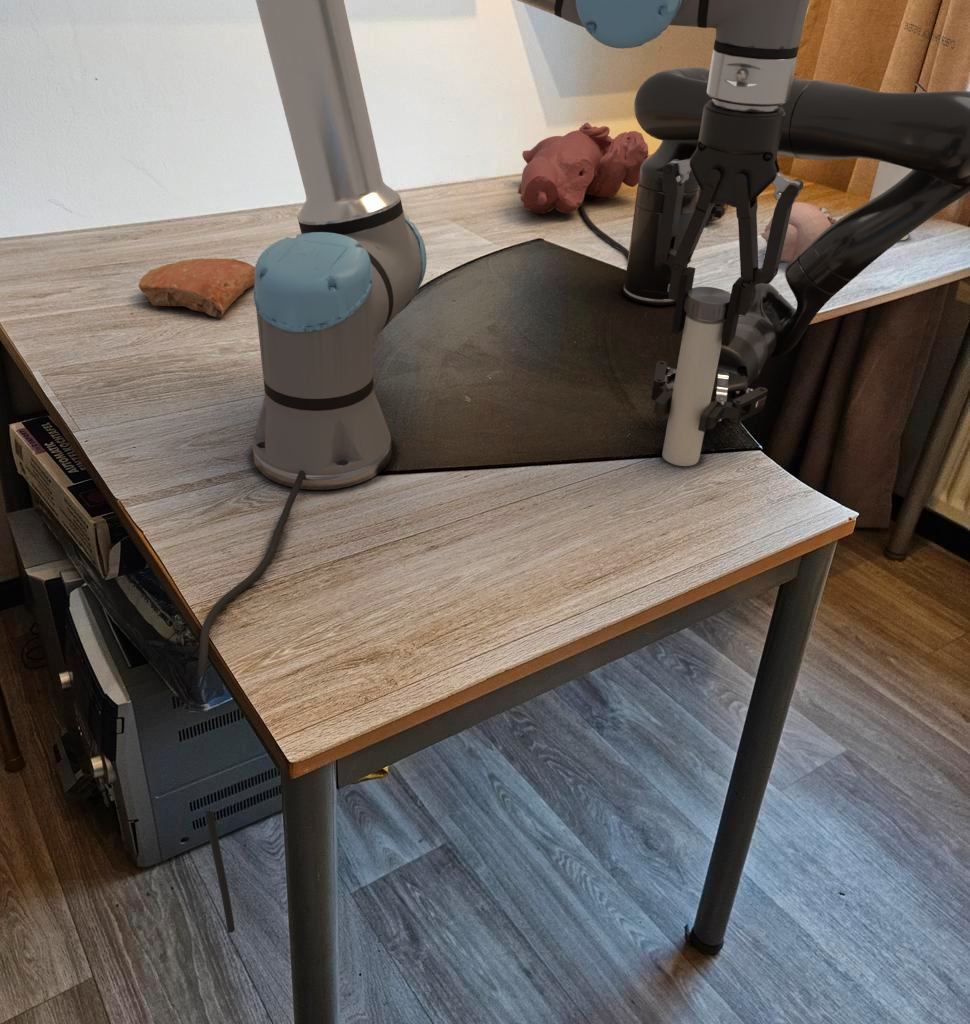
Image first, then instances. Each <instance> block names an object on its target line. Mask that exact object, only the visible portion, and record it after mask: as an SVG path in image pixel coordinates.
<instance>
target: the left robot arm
mask: <svg viewBox="0 0 970 1024" xmlns="http://www.w3.org/2000/svg"><path fill="white" fill-rule="evenodd" d="M516 1H517V2H520V3H523V4H526V5H528V6H530V7H533V8H536V9H538V10H541V11H544V12H546V13H549V14H551V15H554V16H556V17H558V18H561V19H563V20H565V21H567V22H568V23H571V24H574V25H576V26H580V27H582V28H585V30H586V32H587V33H588V34H589V35H590V36H591V37H592V38H593V39H594V40H595V41H597V42H598V43H600V44H602V45H604V46H606V47H610V48H613V49H634V48H638V47H641V46H643V45H645V44H647V43H649V42H652V41H654V40H655V39H657V38H659V37H660V36H661V35H662V33H663V32H664V31H666V30H667V29H668V27H669V26H678V27H694V28H700V29H709V28H711V29H715V39H714V43H713V49H712V53H711V60H710V67H709V71H710V73H709V79H708V86H707V94H708V96H710V97H711V98H712V100H710V101H708V102H707V104H705V105H704V109H703V115H702V122H701V128H700V134H699V140H698V146H697V149H696V151H695V152H694V154H693V155H692V156H691V159H686V160H681V161H680V160H678V159H674V160H672V161H671V162H669V163H668V164H666V165H665V166H664V167H663V176H664V181H665V186H666V192H665V198H664V205H663V212H662V218H661V225H660V232H659V239H658V245H657V252H656V259H657V261H658V262H660V263H663V262H664V263H665V264H667V265H668V266H669V267H670V268H671V271H672V274H671V280H670V286H669V292H668V296H669V299H671V300H675V301H676V303H675V307H674V313H673V320H672V326H671V331H670V333H671V334H674V335H679V334H680V333H681V332H683V330H684V324H685V318H686V312H685V309H684V305H685V299H686V297H687V292H688V291H689V290H690V289H692V288H693V284H694V279H695V273H696V267H694V266H693V267H692V266H689V264H690V263H691V262H692V258H693V255H694V253H695V250H696V249H697V245H698V244H699V241H700V238H701V236H702V234H703V231H704V229H705V227H706V226H707V225H706V223H707V220H708V218H709V216H710V213H711V211H712V209H713V207H714V205H715V204H722V203H725V205H727V206H730V207H732V208H735V210H736V211H735V212H736V218H737V222H738V223H737V224H738V225H737V226H738V246H739V265H740V266H739V267H740V276H739V277H738V278H737V280H736V281H735V282H734V283H733V284H732V286H731V291H730V294H731V296H730V301H729V306H728V311H727V316H726V321H725V327H724V332H723V337H722V342H721V345H725V346H728V345H729V344H730V343H731V341H732V340H733V339H734V338H735V333H736V329H737V324H738V319H739V315H744V316H745V315H746V314H747V312H748V311H749V310H750V308H751V306H752V301H753V296H754V291H755V287H756V285H757V284H761V283H764V284H771V282H772V281H773V280H774V278H775V277H776V276H777V275H778V273H779V268H780V264H781V261H780V259H781V255H782V250H783V246H784V241H785V237H786V232H787V228H788V223H789V219H790V214H791V210H792V205H793V203H794V202H796V200H797V198H798V197H799V195H800V193H801V192H802V190H803V188H804V182H803V180H802V179H799V178H795V179H792V178H790V177H788V176H787V175H785V174H783V173H782V172H780V166H779V162H778V155H777V152H778V147H779V143H780V138H781V133H782V128H783V123H784V118H785V112H784V109H783V108H782V107H780V106H781V105H783V104H784V103H786V102H787V101H788V100H789V95H790V90H791V85H792V81H793V79H794V75H795V71H796V66H797V65H796V64H797V62H798V61H797V60H798V53H799V47H800V44H801V39H802V35H803V30H804V25H805V21H806V17H807V12H808V8H809V3H810V0H516ZM255 3H256V7H257V12H258V15H259V19H260V23H261V26H262V31H263V34H264V37H265V43H266V45H267V49H268V53H269V54H268V55H269V58H270V62H271V65H272V70H273V73H274V77H275V81H276V84H277V88H278V92H279V96H280V100H281V105H282V108H283V111H284V116H285V120H286V123H287V128H288V131H289V134H290V139H291V142H292V146H293V150H294V155H295V158H296V162H297V166H298V170H299V173H300V178H301V182H302V185H303V189H304V194H305V201H304V204H302V207H301V208H300V211H299V212H298V214H297V216H296V217H297V222H298V226H299V229H300V233H299V234H296V236H295V237H289V236H287V237H284V238H281V239H279V240H278V241H275V242H274V243H272V244H271V245H269V246H268V247H267V248H265V249H264V250H263V251H262V253H261V254H260V255H259V256H258V258H257V260H256V263H255V266H254V267H255V284H254V285H253V286H254V287H253V303H254V307H255V310H256V311H255V312H256V320H257V331H258V340H259V349H260V359H261V369H262V378H263V388H264V390H263V391H264V396H263V400H262V404H261V408H260V412H259V415H258V419H257V423H256V427H255V430H254V434H253V438H252V455H253V460H254V464H255V467H256V468H257V470H258V471H259V472H260V473H261V474H262V475H263V476H265V477H266V478H268V479H269V480H271V481H273V482H275V483H278V484H280V485H283V486H286V487H290V488H291V490H290V493H289V495H288V498H287V500H286V503H285V505H284V507H283V509H282V512H281V515H280V517H279V519H278V521H277V524H276V526H275V529H274V531H273V534H272V537H271V541H270V543H269V546H268V548H267V551H266V553H265V555H264V557H263V558H262V560H261V561H260V562H259V564H258V565H257V567H256V568H255V569H254V570H253V571H252V572H251V573H250V574H249V575H248V576H247V577H245V578H244V579H243V580H242V581H241V582H239V583H238V584H237V585H235V586H234V587H233V588H232V589H230V590H229V591H228V592H226V593H225V594H224V595H222V597H220V599H218V601H216V602H215V604H214V605H213V607H211V609H210V610H209V612H208V614H207V615H206V618H205V619H204V622H203V624H202V626H201V631H200V633H199V634H200V635H199V648H198V650H199V651H198V660H197V668H196V669H197V670H196V676H197V677H198V678H203V677H205V676H206V674H207V668H208V659H209V658H208V657H209V644H210V643H209V642H210V632H211V628H212V626H213V624H214V622H215V619H216V618H217V617H218V615H219V613H220V612H221V611H222V610H223V609H224V607H226V606H227V604H228V603H230V602H231V601H232V600H233V599H235V598H236V597H237V596H238V595H239V594H241V593H242V592H244V591H245V590H246V589H247V588H249V587H250V586H251V585H252V584H254V583H255V582H256V581H257V580H258V579H259V577H260V576H261V575H262V574H264V572H265V570H266V569H267V568H268V566H269V564H270V563H271V562H272V561H271V560H272V559H273V557H274V555H275V553H276V550H277V548H278V545H279V541H280V539H281V536H282V533H283V531H284V528H285V525H286V523H287V520H288V518H289V516H290V513H291V510H292V508H293V505H294V503H295V501H296V498H297V496H298V493H299V491H300V489H301V490H312V491H314V490H315V491H323V490H327V491H328V490H337V489H342V488H348V487H351V486H355V485H358V484H361V483H363V482H366V481H368V480H370V479H373V478H374V477H375V476H377V475H378V474H380V473H381V472H382V471H383V470H384V469H385V468H386V467H387V466H388V464H389V463H390V461H391V458H392V434H391V432H390V430H389V427H388V424H387V422H386V419H385V417H384V413H383V411H382V408H381V406H380V403H379V400H378V398H377V395H376V393H375V385H374V342H375V339H376V338H377V337H378V336H379V334H380V333H381V332H382V331H383V330H384V329H386V327H387V326H388V325H389V324H390V323H391V322H392V321H393V320H394V319H395V318H396V316H397V315H398V314H400V313H401V312H403V311H404V310H405V309H406V308H407V307H408V306H409V305H410V304H411V303H412V301H413V299H414V298H415V296H416V295H417V293H418V291H419V289H420V287H421V286H422V283H423V281H424V278H425V276H426V272H427V271H426V270H427V261H428V260H427V250H426V245H425V242H424V240H423V237H422V235H421V233H420V231H419V229H418V228H417V226H416V224H414V222H413V221H410V219H409V220H408V219H407V218H406V217H405V215H404V212H403V210H404V208H403V203H402V198H401V195H400V194H399V193H398V192H397V191H396V190H394V189H393V188H392V187H390V186H388V185H387V184H386V183H385V182H384V179H383V175H382V171H381V166H380V162H379V157H378V152H377V147H376V143H375V138H374V133H373V127H372V124H371V119H370V114H369V110H368V106H367V101H366V96H365V92H364V87H363V82H362V78H361V74H360V73H361V72H360V69H359V63H358V59H357V54H356V49H355V46H354V41H353V37H352V32H351V27H350V23H349V17H348V13H347V9H346V3H345V0H255ZM691 170H692V172H693V174H694V176H695V178H696V181H697V183H698V185H699V187H700V189H701V191H702V192H701V194H700V196H699V199H698V201H697V203H696V206H695V210H694V213H693V215H692V218H691V220H690V222H689V225H688V227H687V229H686V232H685V234H684V237H683V239H682V241H681V244H680V246H679V248H678V251H676V250H675V244H676V237H677V231H678V225H679V218H680V212H681V206H682V199H683V193H684V182H685V181H687V180H688V178H689V173H690V171H691ZM771 184H772V185H773V187H774V192H773V198H774V199H775V200H776V201H777V202H776V205H775V207H774V210H773V215H772V217H773V219H772V218H771V219H772V223H771V228H770V233H769V237H768V242H766V247H765V251H764V257H763V261H762V266H761V267H760V266H759V243H758V242H759V240H758V216H757V213H758V212H757V211H758V197H759V196H760V195H761V194H762V193H763V192H764V191H766V189H767V188H769V186H771ZM204 814H205V819H206V825H207V830H208V836H209V841H210V846H211V851H212V856H213V861H214V866H215V871H216V876H217V880H218V886H219V890H220V895H221V900H222V906H223V911H224V918H225V923H226V929H227V932H228V933H229V934H232V933H234V932H235V930H236V927H235V921H234V915H233V913H234V912H233V908H232V902H231V897H230V896H231V895H230V891H229V887H228V881H227V877H226V875H227V874H226V871H225V866H224V861H223V856H222V851H221V846H220V840H219V835H218V830H217V822H216V816H215V811H211V810H205V811H204Z"/></svg>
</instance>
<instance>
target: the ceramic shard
mask: <svg viewBox="0 0 970 1024" xmlns="http://www.w3.org/2000/svg"><path fill="white" fill-rule="evenodd" d="M253 286H255V266H254V265H253V264H251V263H248V262H245V261H243V260H238V259H235V258H193V259H187V260H181V261H177V262H175V263H169V264H166V265H165V264H164V265H161V266H159V267H156V268H153V269H150V270H148V272H147V273H145V274H144V275H143V276H142V277H141V278H140V280H139V282H138V288H139V290H140V291H141V292H142V293H143V294H145V296H146V297H147V299H148V300H149V301H150V303H151V305H152V306H154V307H186V308H188V309H190V310H192V311H196V312H202V313H205V314H207V315H208V316H211V317H214V318H220V317H222V316H223V315H225V313H226V311H227V310H228V308H229V307H230V306H231V305H232V304H233V303H234V301H236V300H237V299H238V298H239V297H240V296H241V295H243V293H244V292H245V290H248V289H249V288H251V287H253Z"/></svg>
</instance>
